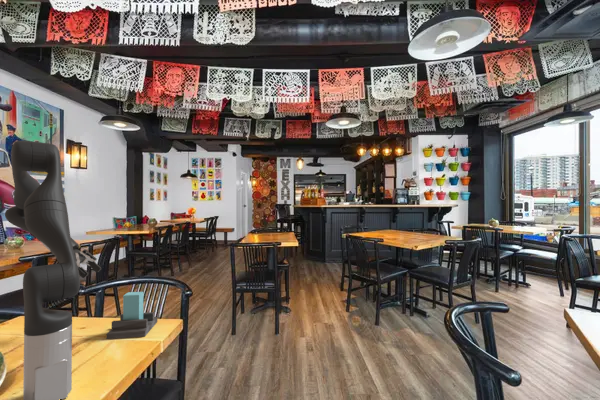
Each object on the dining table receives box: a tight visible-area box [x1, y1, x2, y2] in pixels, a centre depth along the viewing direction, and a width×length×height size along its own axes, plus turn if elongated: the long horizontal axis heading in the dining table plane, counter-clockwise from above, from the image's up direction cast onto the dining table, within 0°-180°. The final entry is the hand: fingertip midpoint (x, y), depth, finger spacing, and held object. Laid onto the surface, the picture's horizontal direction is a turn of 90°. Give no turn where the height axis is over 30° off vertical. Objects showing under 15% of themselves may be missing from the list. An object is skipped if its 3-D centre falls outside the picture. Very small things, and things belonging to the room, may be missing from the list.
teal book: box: [122, 291, 144, 320], centre depth 110 cm, size 4×6×12 cm
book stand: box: [106, 311, 158, 340], centre depth 110 cm, size 13×13×5 cm
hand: (93, 273), depth 109 cm, fingers open, 8 cm apart
